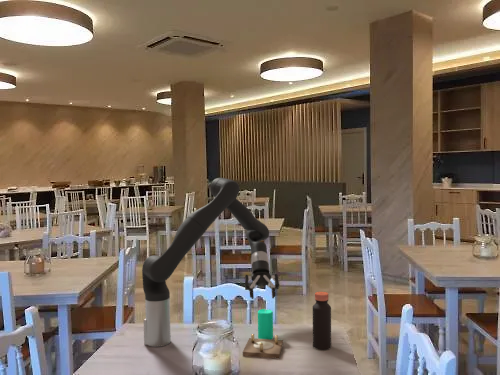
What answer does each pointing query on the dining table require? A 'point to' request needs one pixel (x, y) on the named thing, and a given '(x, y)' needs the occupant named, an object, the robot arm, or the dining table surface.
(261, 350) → the pins
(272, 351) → the stand
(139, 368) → the dining table surface
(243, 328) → the dining table surface
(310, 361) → the dining table surface
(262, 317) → the candle
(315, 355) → the dining table surface
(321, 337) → the bottle
